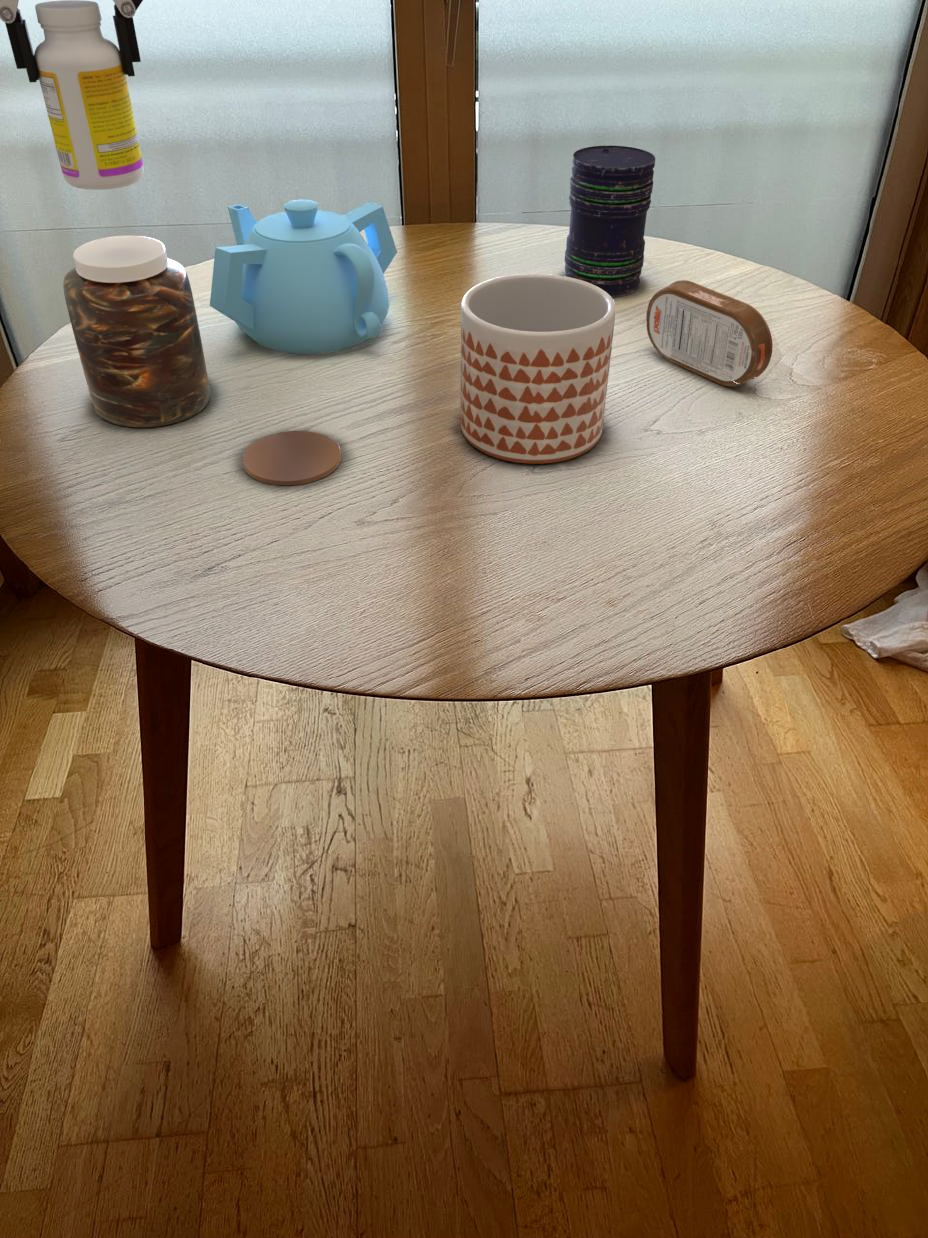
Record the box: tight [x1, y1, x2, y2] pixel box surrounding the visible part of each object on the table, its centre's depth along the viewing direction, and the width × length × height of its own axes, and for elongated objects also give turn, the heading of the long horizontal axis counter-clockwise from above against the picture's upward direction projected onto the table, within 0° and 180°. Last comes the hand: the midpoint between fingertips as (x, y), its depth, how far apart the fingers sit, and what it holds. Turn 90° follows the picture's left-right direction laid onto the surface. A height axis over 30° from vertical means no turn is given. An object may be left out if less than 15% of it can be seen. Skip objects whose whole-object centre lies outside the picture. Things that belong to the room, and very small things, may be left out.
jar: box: [62, 234, 211, 428], centre depth 92 cm, size 12×12×15 cm
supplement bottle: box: [33, 0, 145, 191], centre depth 78 cm, size 7×7×13 cm
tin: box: [645, 279, 774, 387], centre depth 100 cm, size 15×3×8 cm, turn 40°
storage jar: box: [563, 145, 656, 298], centre depth 117 cm, size 10×10×15 cm
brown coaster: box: [241, 430, 342, 486], centre depth 88 cm, size 9×9×1 cm
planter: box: [460, 273, 617, 465], centre depth 89 cm, size 14×14×13 cm
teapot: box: [209, 198, 398, 355], centre depth 106 cm, size 19×19×14 cm
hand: (81, 73), depth 77 cm, fingers closed on supplement bottle, 6 cm apart
